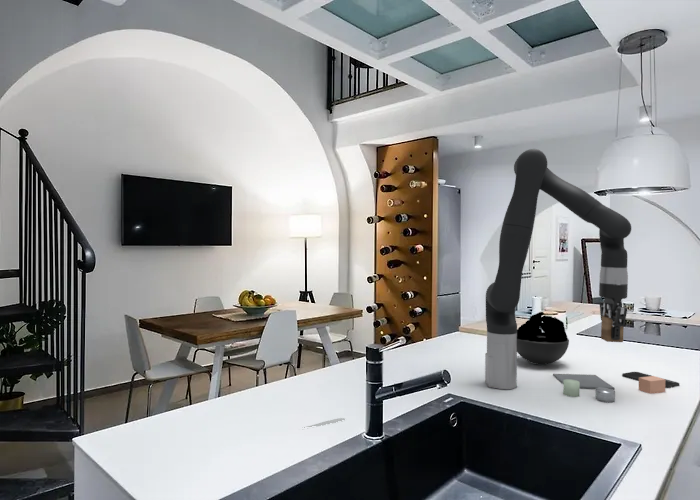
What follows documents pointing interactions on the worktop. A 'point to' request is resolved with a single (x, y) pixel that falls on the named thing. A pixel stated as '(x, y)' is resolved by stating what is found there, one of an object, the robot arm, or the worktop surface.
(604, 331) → the walnut block
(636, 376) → the phone
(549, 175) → the robot arm
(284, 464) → the worktop surface
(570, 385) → the sage cylinder
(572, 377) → the charcoal mat
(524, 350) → the coal bowl
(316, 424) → the butter knife
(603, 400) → the grey metal puck
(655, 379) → the terracotta brick
